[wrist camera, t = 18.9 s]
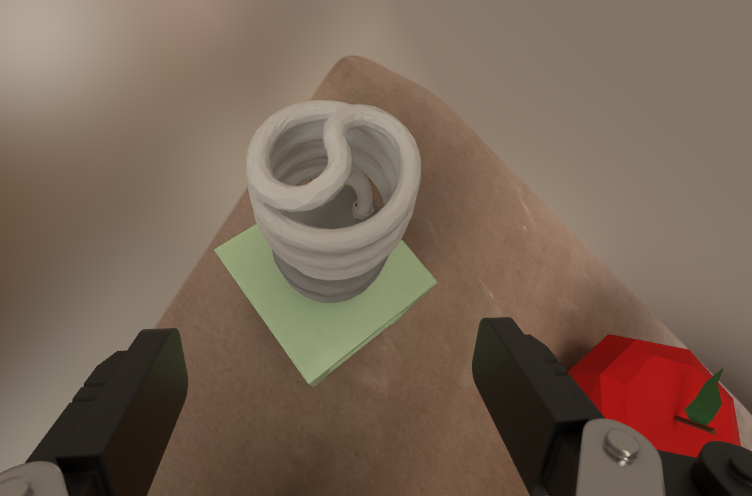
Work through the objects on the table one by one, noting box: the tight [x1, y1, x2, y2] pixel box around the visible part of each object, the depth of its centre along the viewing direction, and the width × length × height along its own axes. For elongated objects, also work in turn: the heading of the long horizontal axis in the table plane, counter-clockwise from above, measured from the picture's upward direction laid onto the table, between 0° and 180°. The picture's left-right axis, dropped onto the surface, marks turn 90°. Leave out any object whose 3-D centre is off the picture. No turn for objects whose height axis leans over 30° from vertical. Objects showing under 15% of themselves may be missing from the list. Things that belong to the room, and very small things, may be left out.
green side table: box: [214, 183, 437, 388], centre depth 27 cm, size 9×9×10 cm
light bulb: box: [246, 100, 421, 303], centre depth 16 cm, size 6×6×12 cm
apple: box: [568, 334, 741, 458], centre depth 26 cm, size 11×11×10 cm
